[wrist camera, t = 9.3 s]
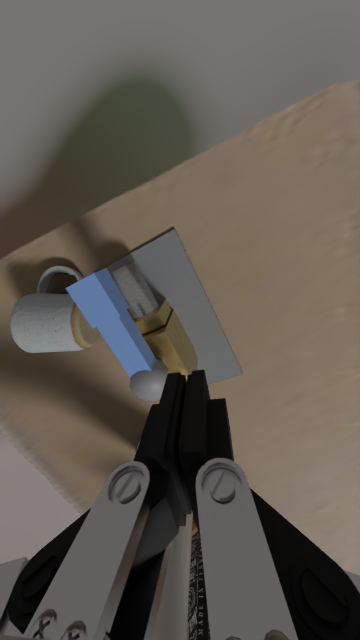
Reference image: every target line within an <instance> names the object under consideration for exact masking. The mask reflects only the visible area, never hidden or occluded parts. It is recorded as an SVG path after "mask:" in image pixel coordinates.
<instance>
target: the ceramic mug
mask: <svg viewBox="0 0 360 640" xmlns="http://www.w3.org/2000/svg"><path fill="white" fill-rule="evenodd" d="M56 273H68V274H70V275H75V277H76V279H77V281H80V280H82V279H84V278H83V276H82V275H81V274H80V273H79V272H78V271H76V270H74V269H72V268H70V267H67V266H59V265H58V266H53V267H50V268H49V269H47V270H46V271H45V272H44V273H43V275H42V276H41V278H40V280H39V283H38V286H37V292H36V293H33V294H27V295H25V296H23V297H21V298H20V299H19V300H18V301H17V303H16V304H15V306H14V308H13V310H12V313H11V318H10V329H11V333H12V337H13V339H14V341H15V343H16V344H17V345H18V346H19V347H20V348H21V349H22V350H24V351H26V352H30V353H41V352H60V351H78V350H84V349H88V348H91V347H92V346H93V345H94V344H95V343H96V342H97V341H98V339H99V336H100V331H99V330H98V328H97V327H95V328H93V329H92V327H91V326H90V324H89V323H88V321H87V320H86V318H85V317H84V315H83V314H82V312H81V311H80V309H79V308H78V306H77V305H76V303H75V302H74V300H73V299H72V297H71V296H70V294H50V293H49V294H48V293H46V291H47V287H48V283H49V281H50V279H51V278H52V276H53V275H54V274H56Z"/></svg>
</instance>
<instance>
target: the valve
mask: <svg viewBox="0 0 360 640" xmlns="http://www.w3.org/2000/svg"><path fill="white" fill-rule="evenodd" d="M110 275H111V277H112V278H113V280H114V282H115V284H116V285H117V287H118V289H119V290H120V292H121V294H122V295H123V297H124V299H125V301H126V302H127V304H128V306H129V308H128V309H129V311H130V313H131V314H132V316H131V317H132V319H133V321H134V323H135V324H136V326H137V328H138V329H139V331H140V333H141V334H142V336H143V338H144V339H145V341H146V343H147V344H148V346H149V348H150V350H151V351H152V353H153V355H154V356H155V358H156V359H157V360H159V361H161V362H163V363H164V364H165V365H166V366H167V367H168V369H169V372H170V373H176V372H180V373H181V375H185V377H186V381H187V376H188V374H192V371H195V370H197V367H198V357H197V355H196V353H195V351H194V346H193V344H192V343H191V341H190V339H189V337H188V335H187V333H186V331H185V329H184V328H183V326H182V324H181V322H180V320H179V318H178V316H177V314H176V313H175V311H174V309H173V310H171V309H172V308H171V306H170V304H169V303H168V301H167V299H164V300H161V301H159V302H157V301H156V299H155V297H154V295H153V293H152V292H151V290H150V288H149V286H148V284H147V283H146V281H145V279H144V277H143V275H142V274H141V272H140V270H139V268H138V266H137V265H136V263H135V261H133V262H131V263H129V264H127V265H125V266H123V267H121V268H119V269H118V270H116V271H114V272H112V273H110Z"/></svg>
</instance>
